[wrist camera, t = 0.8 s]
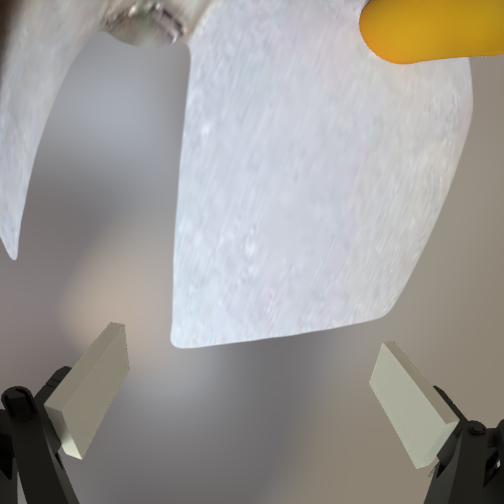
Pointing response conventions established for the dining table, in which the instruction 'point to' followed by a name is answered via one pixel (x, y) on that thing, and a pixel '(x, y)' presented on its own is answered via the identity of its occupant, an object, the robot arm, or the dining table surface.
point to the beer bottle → (433, 29)
